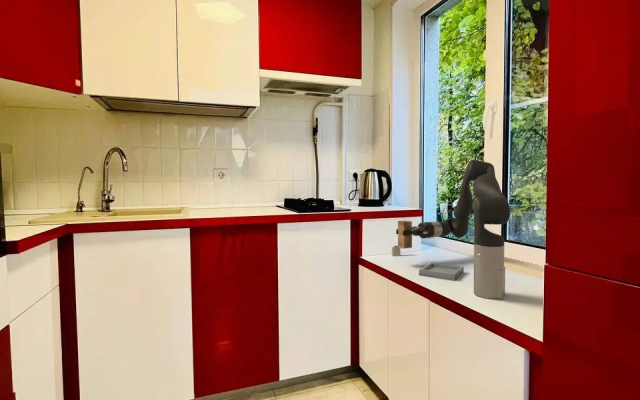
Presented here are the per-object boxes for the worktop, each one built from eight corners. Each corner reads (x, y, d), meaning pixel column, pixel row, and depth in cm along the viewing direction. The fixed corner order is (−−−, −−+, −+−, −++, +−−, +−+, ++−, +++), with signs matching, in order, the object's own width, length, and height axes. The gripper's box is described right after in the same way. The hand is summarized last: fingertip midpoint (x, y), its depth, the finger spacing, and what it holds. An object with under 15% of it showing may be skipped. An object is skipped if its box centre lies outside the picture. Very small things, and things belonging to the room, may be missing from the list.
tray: (463, 272, 145) (463, 266, 145) (454, 280, 134) (454, 274, 134) (430, 268, 154) (430, 262, 154) (419, 275, 143) (419, 269, 142)
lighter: (392, 256, 178) (392, 240, 178) (391, 255, 180) (391, 240, 180) (406, 255, 179) (406, 240, 179) (404, 254, 181) (404, 239, 180)
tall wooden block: (405, 246, 161) (405, 220, 160) (412, 247, 157) (411, 221, 156) (398, 247, 159) (397, 221, 158) (404, 248, 155) (403, 221, 154)
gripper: (419, 220, 170) (390, 222, 163) (440, 223, 157) (409, 225, 150) (419, 235, 170) (390, 238, 163) (440, 239, 157) (409, 243, 150)
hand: (400, 232), depth 156 cm, fingers closed on tall wooden block, 4 cm apart
